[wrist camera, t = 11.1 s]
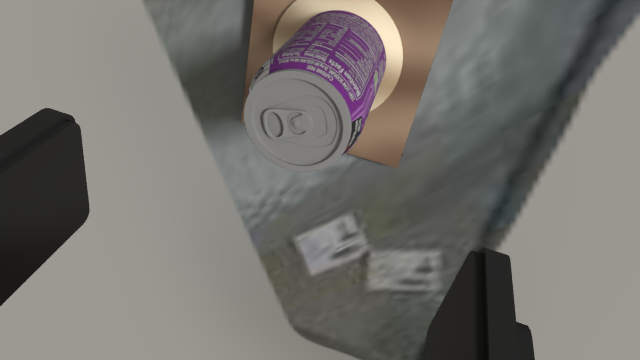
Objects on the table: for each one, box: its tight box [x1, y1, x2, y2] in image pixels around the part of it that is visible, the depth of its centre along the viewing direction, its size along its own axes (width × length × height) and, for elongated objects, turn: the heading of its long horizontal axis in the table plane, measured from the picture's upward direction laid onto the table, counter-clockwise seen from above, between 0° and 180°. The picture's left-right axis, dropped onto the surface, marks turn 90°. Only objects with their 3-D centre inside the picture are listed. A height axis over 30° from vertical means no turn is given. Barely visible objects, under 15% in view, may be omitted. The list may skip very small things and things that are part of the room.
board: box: [241, 0, 453, 168], centre depth 38 cm, size 16×14×2 cm
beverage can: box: [244, 10, 386, 172], centre depth 32 cm, size 7×7×12 cm
